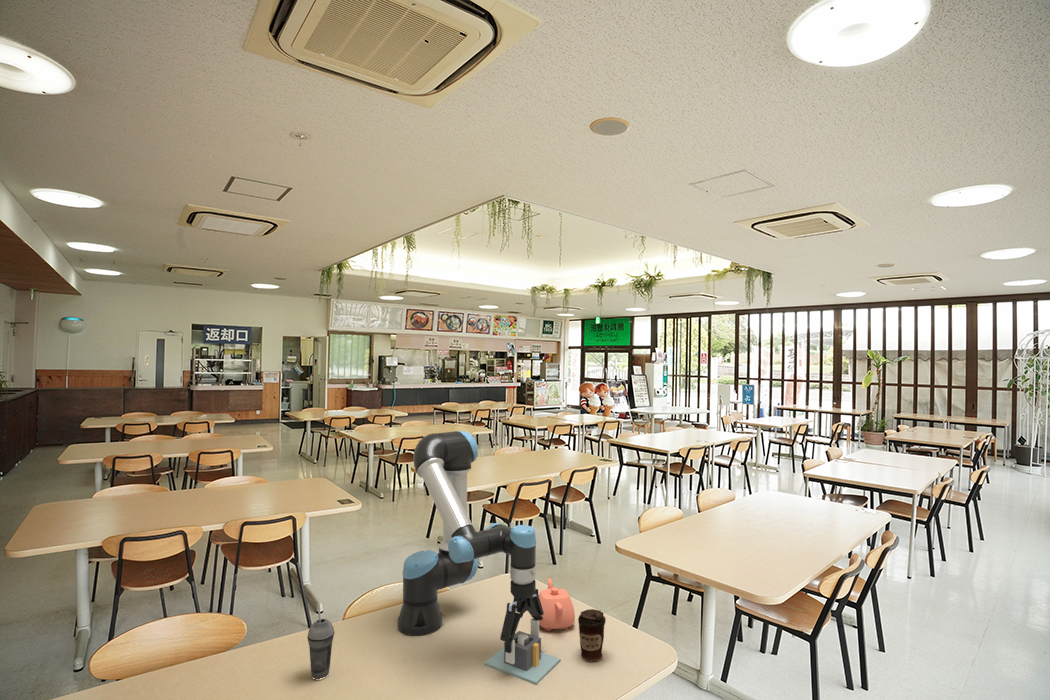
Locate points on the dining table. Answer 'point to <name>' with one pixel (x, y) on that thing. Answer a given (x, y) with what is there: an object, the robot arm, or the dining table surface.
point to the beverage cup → (320, 646)
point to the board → (531, 675)
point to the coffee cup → (591, 634)
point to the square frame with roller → (526, 652)
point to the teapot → (556, 608)
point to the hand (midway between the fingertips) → (522, 651)
